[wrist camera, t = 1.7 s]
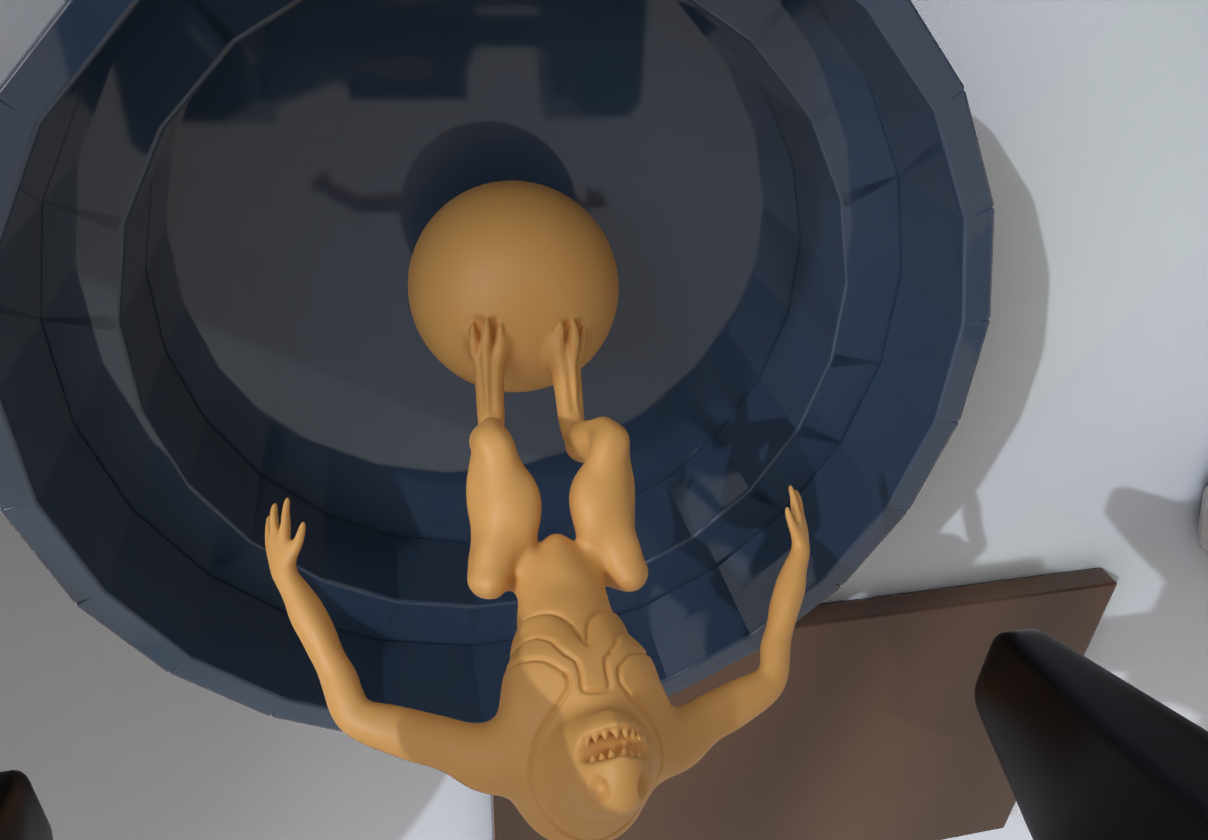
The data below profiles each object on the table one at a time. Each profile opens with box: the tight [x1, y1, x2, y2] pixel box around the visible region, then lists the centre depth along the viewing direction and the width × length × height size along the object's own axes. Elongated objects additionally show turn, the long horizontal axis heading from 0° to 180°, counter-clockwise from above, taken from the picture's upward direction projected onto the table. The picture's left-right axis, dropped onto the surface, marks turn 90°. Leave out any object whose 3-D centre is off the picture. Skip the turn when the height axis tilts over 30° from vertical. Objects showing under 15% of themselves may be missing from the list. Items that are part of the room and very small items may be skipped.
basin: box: [0, 0, 994, 732], centre depth 18 cm, size 17×17×5 cm
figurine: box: [265, 180, 810, 840], centre depth 15 cm, size 8×6×12 cm
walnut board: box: [491, 568, 1117, 840], centre depth 31 cm, size 20×13×1 cm, turn 88°
